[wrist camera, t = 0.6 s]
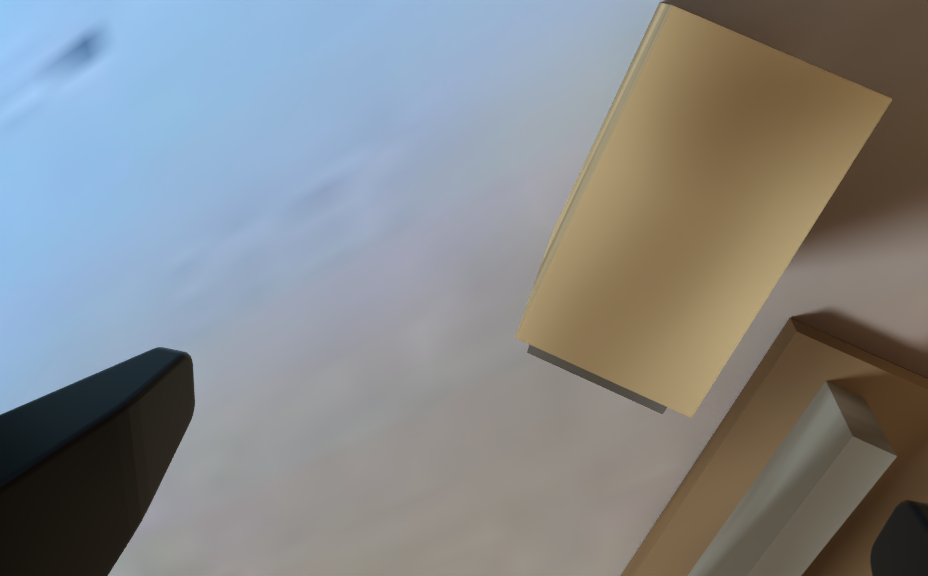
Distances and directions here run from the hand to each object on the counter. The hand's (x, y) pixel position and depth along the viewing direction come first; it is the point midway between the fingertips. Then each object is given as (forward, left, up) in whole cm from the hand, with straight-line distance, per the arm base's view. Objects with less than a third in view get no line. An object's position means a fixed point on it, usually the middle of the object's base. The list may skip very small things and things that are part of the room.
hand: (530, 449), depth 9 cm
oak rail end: (-1, -2, -14) cm, 14 cm away
